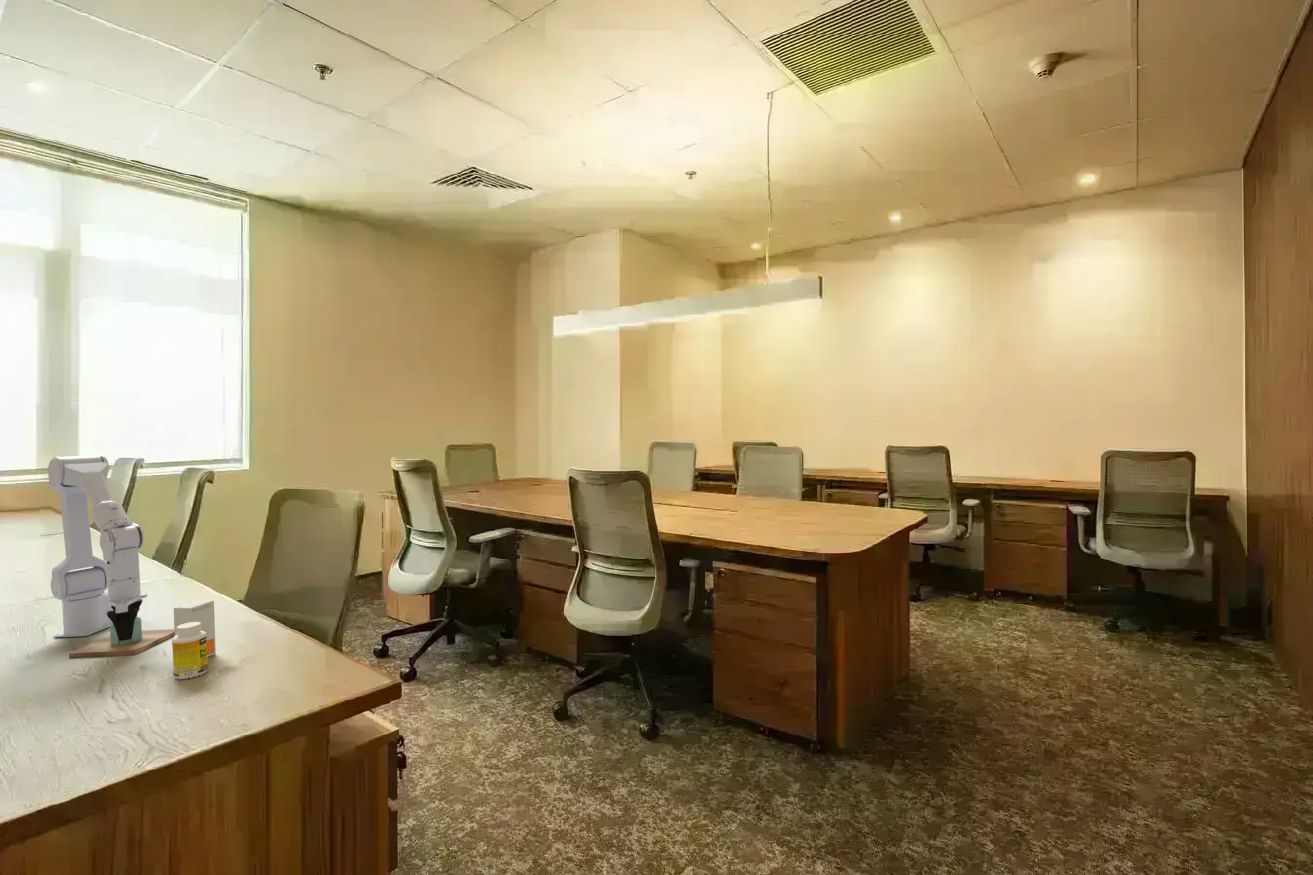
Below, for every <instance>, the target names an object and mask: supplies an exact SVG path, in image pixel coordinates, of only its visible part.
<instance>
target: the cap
mask: <svg viewBox="0 0 1313 875" xmlns="http://www.w3.org/2000/svg"><path fill="white" fill-rule="evenodd" d="M142 620H143V619H142V617H140V616H139V617H138V616H137V617H136V618H135V622H134V628H133V635H132V638H131V639H129V640H123V641H119V639H118V636H117V633H116V630H115V627H114V625H113V623H112V622H111V623H110V625H111V626H110V627H109V636H110V637H111V645H121V644H127V643H131V642H135V641H138V640H141V639H142V631H143V625H142V623H143V622H142Z"/></svg>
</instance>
